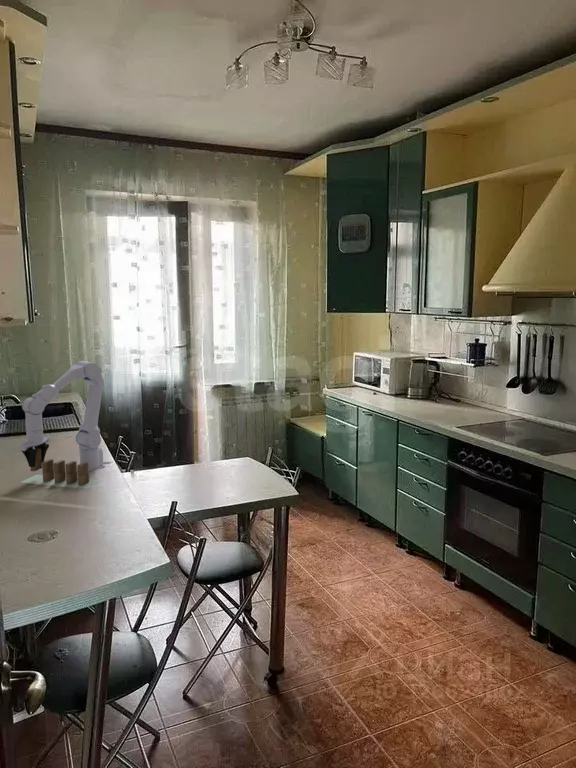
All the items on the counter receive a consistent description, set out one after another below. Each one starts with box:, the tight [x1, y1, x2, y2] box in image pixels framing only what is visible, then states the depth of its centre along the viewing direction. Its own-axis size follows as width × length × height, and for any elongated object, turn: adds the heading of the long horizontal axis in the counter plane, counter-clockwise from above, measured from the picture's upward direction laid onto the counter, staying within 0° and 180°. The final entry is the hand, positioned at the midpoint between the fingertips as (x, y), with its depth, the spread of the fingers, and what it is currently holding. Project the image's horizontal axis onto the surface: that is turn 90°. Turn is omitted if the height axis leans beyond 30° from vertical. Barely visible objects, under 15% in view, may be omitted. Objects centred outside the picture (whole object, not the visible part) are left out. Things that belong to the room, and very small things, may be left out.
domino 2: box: [41, 458, 55, 482], centre depth 219 cm, size 4×2×8 cm, turn 165°
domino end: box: [77, 462, 90, 486], centre depth 216 cm, size 4×2×8 cm, turn 165°
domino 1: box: [30, 449, 42, 472], centre depth 220 cm, size 4×2×8 cm, turn 165°
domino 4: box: [65, 460, 78, 484], centre depth 217 cm, size 4×2×8 cm, turn 165°
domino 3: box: [53, 459, 66, 483], centre depth 218 cm, size 4×2×8 cm, turn 165°
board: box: [20, 474, 101, 490], centre depth 219 cm, size 10×28×1 cm, turn 75°
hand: (36, 464), depth 220 cm, fingers closed on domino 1, 4 cm apart
